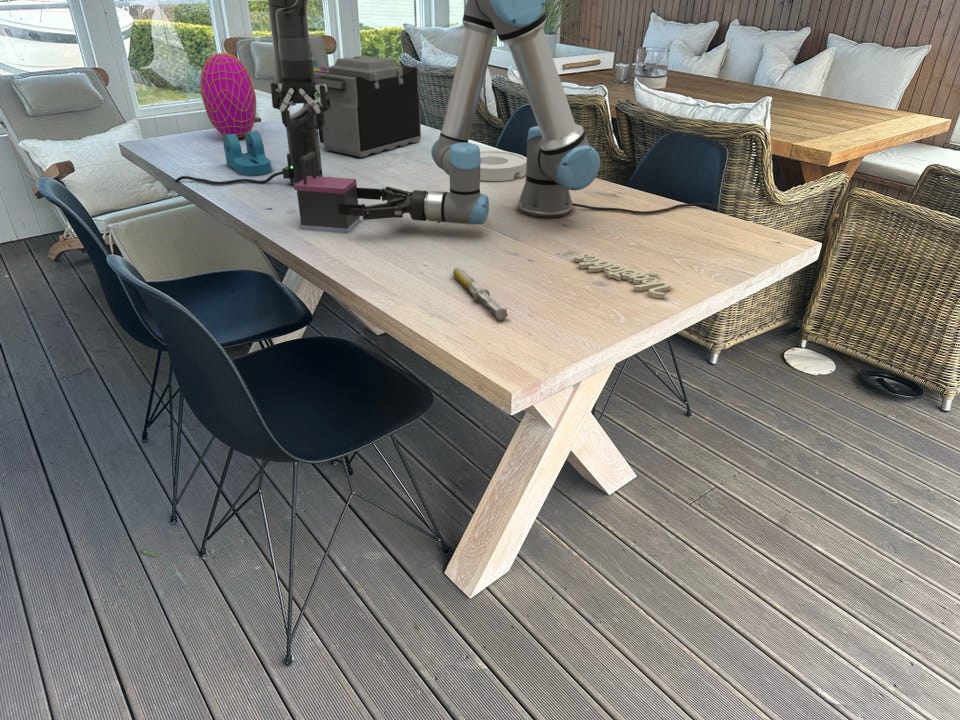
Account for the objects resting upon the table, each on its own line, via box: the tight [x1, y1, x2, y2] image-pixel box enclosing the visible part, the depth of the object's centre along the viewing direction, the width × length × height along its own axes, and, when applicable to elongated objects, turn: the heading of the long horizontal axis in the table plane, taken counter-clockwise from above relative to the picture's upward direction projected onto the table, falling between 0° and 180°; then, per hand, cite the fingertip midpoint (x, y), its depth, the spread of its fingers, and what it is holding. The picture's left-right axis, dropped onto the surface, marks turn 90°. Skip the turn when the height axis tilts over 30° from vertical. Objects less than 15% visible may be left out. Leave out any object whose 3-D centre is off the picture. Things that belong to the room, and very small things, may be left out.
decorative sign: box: [574, 252, 671, 299], centre depth 155 cm, size 26×1×10 cm
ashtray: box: [480, 150, 527, 182], centre depth 228 cm, size 23×23×4 cm
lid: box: [293, 152, 358, 194], centre depth 176 cm, size 13×9×8 cm
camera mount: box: [222, 131, 272, 176], centre depth 226 cm, size 18×10×10 cm, turn 35°
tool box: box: [314, 55, 422, 159], centre depth 250 cm, size 37×22×30 cm, turn 144°
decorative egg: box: [200, 52, 257, 139], centre depth 259 cm, size 19×19×30 cm
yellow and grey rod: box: [452, 266, 509, 321], centre depth 145 cm, size 25×4×3 cm, turn 21°
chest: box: [296, 183, 361, 233], centre depth 180 cm, size 13×9×10 cm
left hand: (304, 127), depth 171 cm, fingers open, 8 cm apart
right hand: (347, 200), depth 178 cm, fingers open, 13 cm apart
